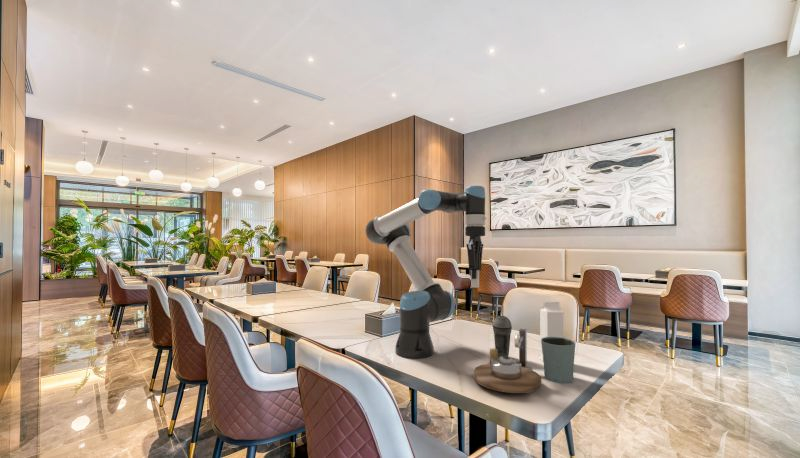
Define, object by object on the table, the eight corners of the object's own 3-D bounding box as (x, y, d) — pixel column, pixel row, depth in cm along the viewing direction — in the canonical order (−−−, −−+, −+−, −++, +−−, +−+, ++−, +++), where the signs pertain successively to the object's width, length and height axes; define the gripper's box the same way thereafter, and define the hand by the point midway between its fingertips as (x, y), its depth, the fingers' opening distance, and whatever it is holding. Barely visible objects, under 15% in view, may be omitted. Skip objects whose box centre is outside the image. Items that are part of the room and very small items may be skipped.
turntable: (463, 369, 117) (463, 349, 117) (518, 365, 121) (518, 346, 121) (491, 395, 97) (491, 371, 98) (555, 390, 101) (555, 367, 102)
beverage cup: (509, 354, 138) (510, 302, 138) (514, 360, 131) (514, 306, 131) (490, 353, 139) (491, 302, 139) (493, 359, 131) (494, 305, 132)
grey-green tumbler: (580, 378, 114) (580, 341, 114) (568, 387, 107) (567, 347, 108) (549, 370, 121) (549, 334, 122) (535, 377, 114) (535, 340, 115)
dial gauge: (508, 379, 113) (508, 335, 113) (517, 367, 123) (517, 327, 124) (524, 382, 110) (524, 337, 111) (532, 370, 121) (532, 329, 121)
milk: (540, 359, 132) (539, 300, 133) (555, 359, 132) (555, 300, 133) (547, 365, 126) (547, 303, 127) (564, 365, 126) (563, 303, 127)
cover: (486, 370, 113) (486, 354, 113) (511, 368, 114) (511, 352, 114) (499, 381, 104) (499, 363, 104) (527, 379, 105) (527, 361, 106)
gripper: (479, 225, 129) (479, 289, 128) (489, 226, 140) (489, 286, 139) (459, 225, 133) (459, 288, 132) (471, 226, 144) (471, 284, 143)
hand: (475, 287), depth 136 cm, fingers closed
